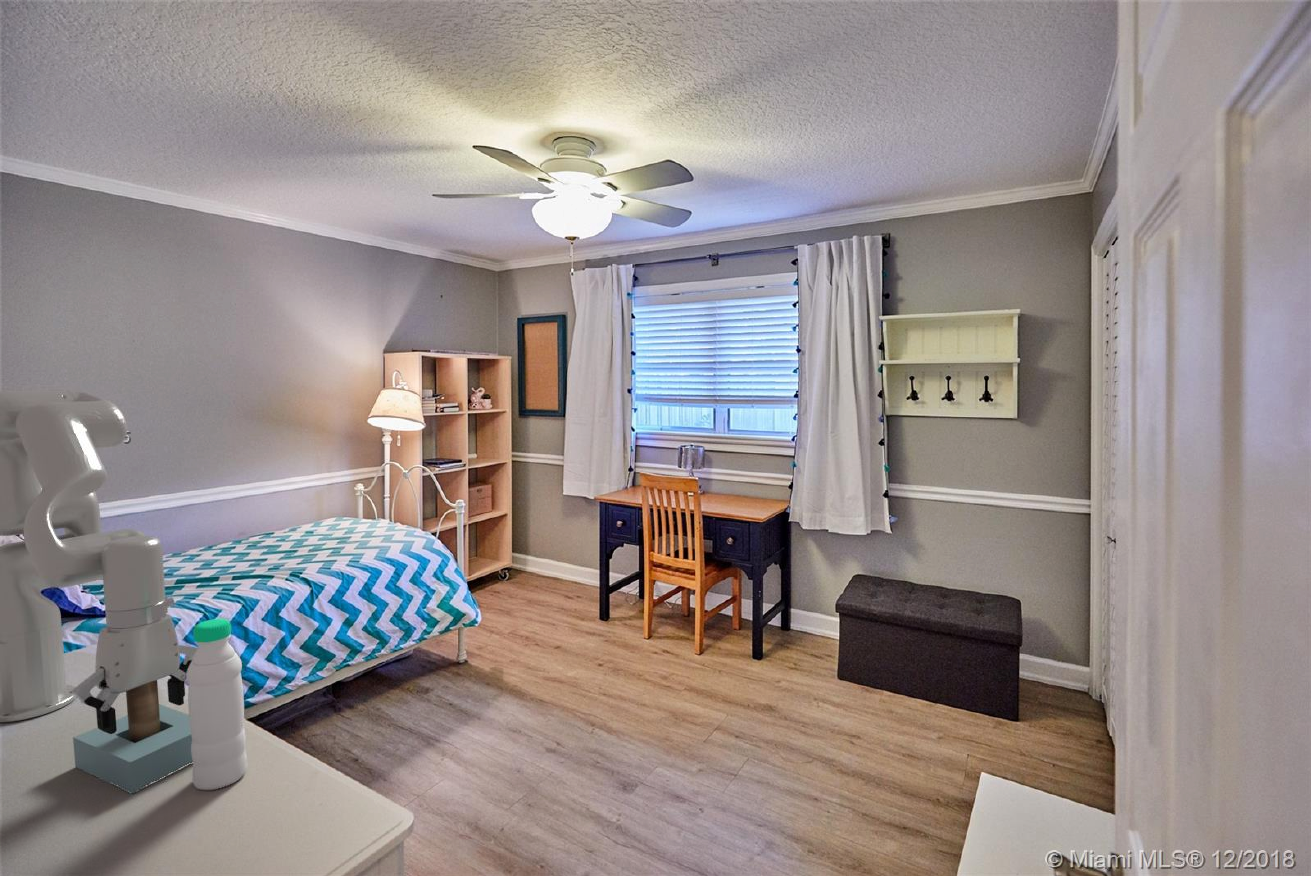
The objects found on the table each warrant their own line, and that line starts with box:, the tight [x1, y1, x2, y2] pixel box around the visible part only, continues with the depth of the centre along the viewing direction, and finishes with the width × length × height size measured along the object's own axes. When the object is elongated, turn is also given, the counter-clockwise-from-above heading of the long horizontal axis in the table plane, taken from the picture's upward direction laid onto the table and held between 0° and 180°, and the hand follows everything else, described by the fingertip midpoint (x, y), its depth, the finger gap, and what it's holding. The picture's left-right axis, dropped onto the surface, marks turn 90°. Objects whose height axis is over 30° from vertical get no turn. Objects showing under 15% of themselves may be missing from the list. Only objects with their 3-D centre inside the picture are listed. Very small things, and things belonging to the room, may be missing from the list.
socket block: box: [72, 703, 193, 794], centre depth 105 cm, size 16×12×5 cm
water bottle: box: [186, 618, 248, 791], centre depth 99 cm, size 7×7×25 cm
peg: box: [125, 680, 161, 743], centre depth 105 cm, size 4×4×14 cm
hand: (143, 716), depth 105 cm, fingers open, 9 cm apart
